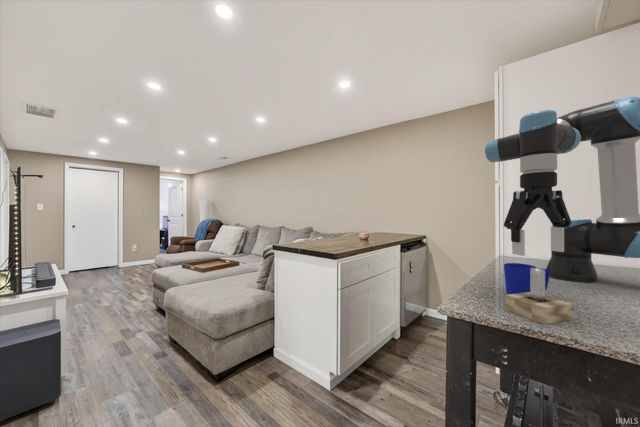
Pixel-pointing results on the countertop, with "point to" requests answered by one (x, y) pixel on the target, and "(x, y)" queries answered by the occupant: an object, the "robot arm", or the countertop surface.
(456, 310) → the countertop surface
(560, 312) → the hole block
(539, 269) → the peg
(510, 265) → the mug
